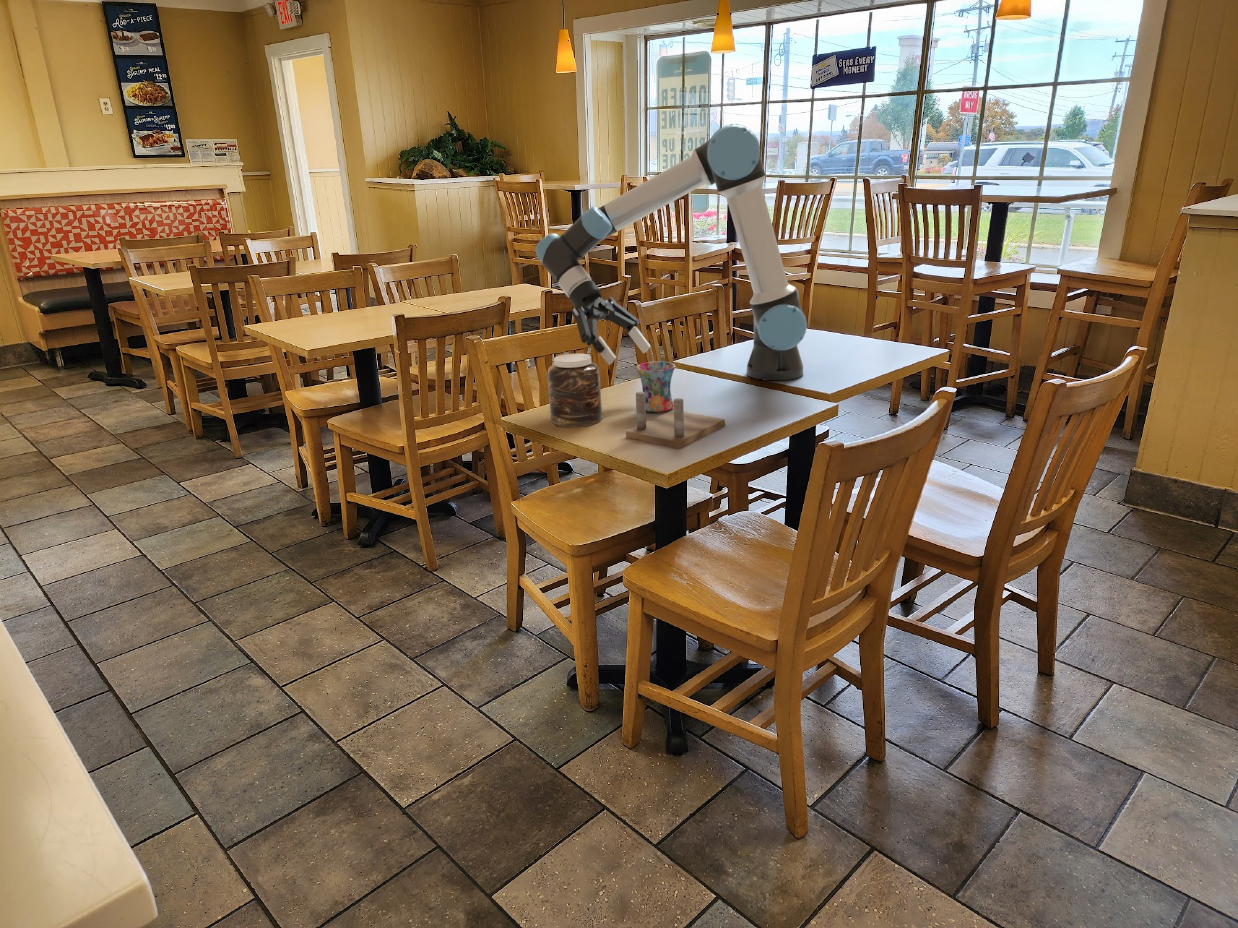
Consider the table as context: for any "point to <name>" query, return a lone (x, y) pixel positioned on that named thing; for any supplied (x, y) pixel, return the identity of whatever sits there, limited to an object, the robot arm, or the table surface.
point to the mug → (656, 385)
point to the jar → (574, 391)
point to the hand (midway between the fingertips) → (630, 355)
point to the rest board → (672, 425)
